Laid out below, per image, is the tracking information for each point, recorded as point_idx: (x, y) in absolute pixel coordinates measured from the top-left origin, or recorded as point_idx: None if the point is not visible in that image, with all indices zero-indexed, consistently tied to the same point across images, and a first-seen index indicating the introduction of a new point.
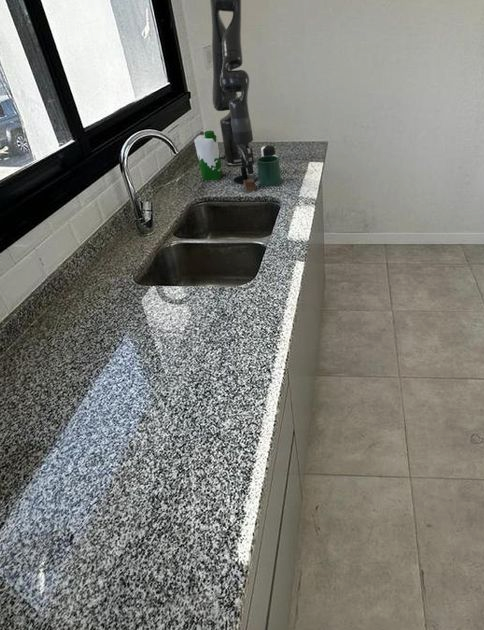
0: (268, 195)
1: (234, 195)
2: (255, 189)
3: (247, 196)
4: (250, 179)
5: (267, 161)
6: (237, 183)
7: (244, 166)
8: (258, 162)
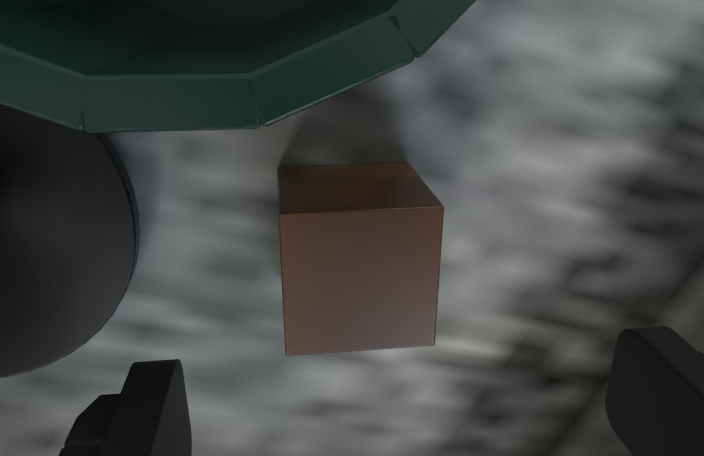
0: (651, 55)
1: (410, 407)
2: (412, 172)
3: (520, 294)
4: (316, 248)
5: None
6: (78, 342)
7: (185, 440)
8: (292, 110)
